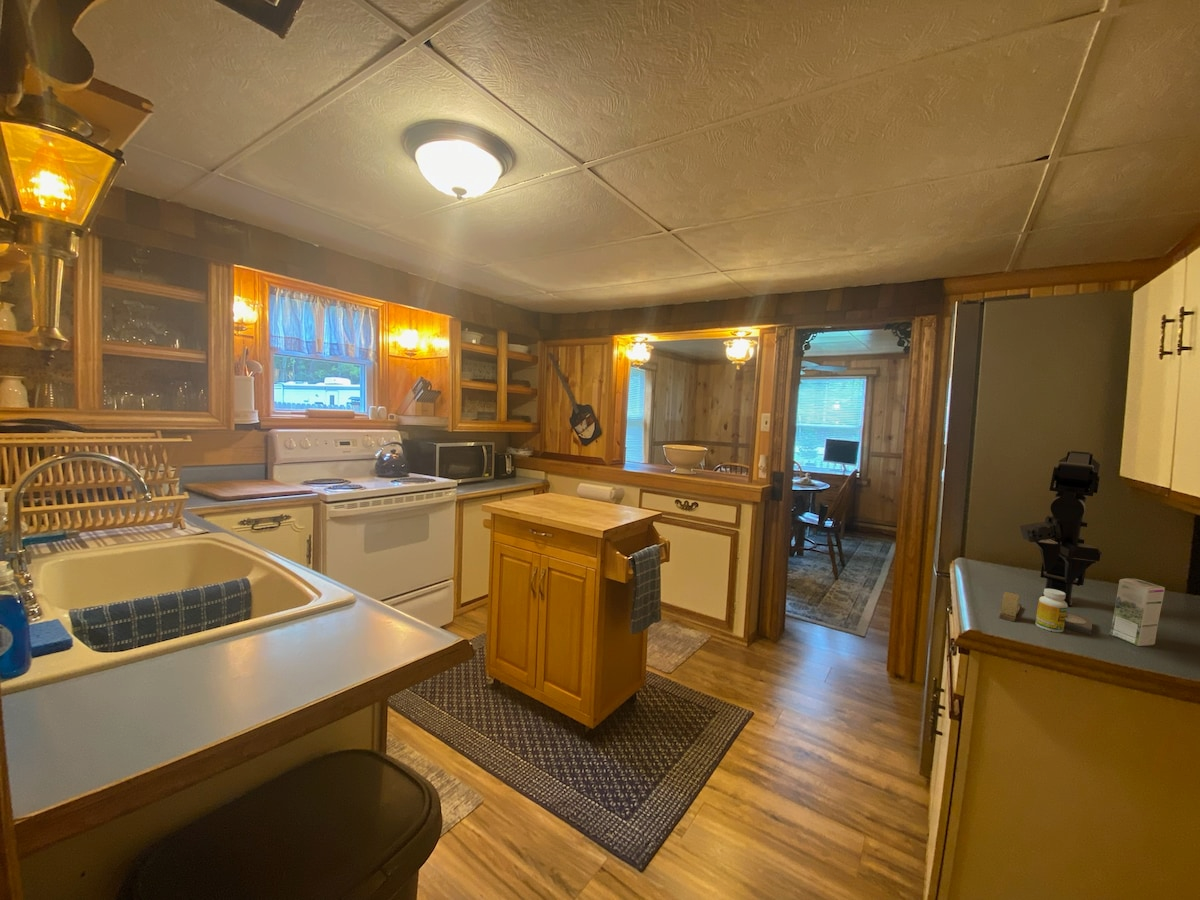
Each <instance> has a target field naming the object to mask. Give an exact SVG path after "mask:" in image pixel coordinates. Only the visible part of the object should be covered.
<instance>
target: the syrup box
mask: <svg viewBox="0 0 1200 900" xmlns="http://www.w3.org/2000/svg"><path fill="white" fill-rule="evenodd" d="M1165 590H1166V587H1164V586H1161V585H1158V584H1155V583H1151V582H1148V581H1145V580H1141V579H1139V578H1130V577H1129V578H1121V579H1119V582H1118V588H1117V593H1116V599H1115V606H1114V609H1113V611H1114V612H1113V617H1112V621H1111V626H1110V627H1111V629H1110V632H1109V635H1110V636H1111V637H1114V638H1118V639H1120V640H1122V641H1124V642H1127V643H1130V644H1132V645H1135V646H1137V647H1138V646H1139V647H1140V646H1141V647H1142V646H1143V647H1144V646H1154V645H1155V644H1156V638H1157V631H1158V626H1159V622H1160V621H1159V620H1160V615H1161V610H1162V606H1163V602H1164V596H1165Z"/></svg>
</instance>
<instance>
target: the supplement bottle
mask: <svg viewBox="0 0 1200 900" xmlns="http://www.w3.org/2000/svg"><path fill="white" fill-rule="evenodd" d="M1043 593H1044V595H1045V596H1042V595H1041V596H1040V597H1039V598H1038V604H1037V608H1036V609H1037V610H1036V616H1035V625H1036V626H1037V627H1038V628H1040V629H1042V630H1044V629H1045V631H1048V632H1051V631H1052V633H1063V632H1064V629H1065V628H1064V624H1065V618H1066V612H1067V611H1068V607H1069V606H1068V605H1067V603H1066V602H1065V601H1063V600H1064V599H1065V596H1066V594H1065V593H1064V592H1062V591H1059V590H1055V589H1048V588H1047V589H1045V588H1044V590H1043ZM1067 613H1068V612H1067Z"/></svg>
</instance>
